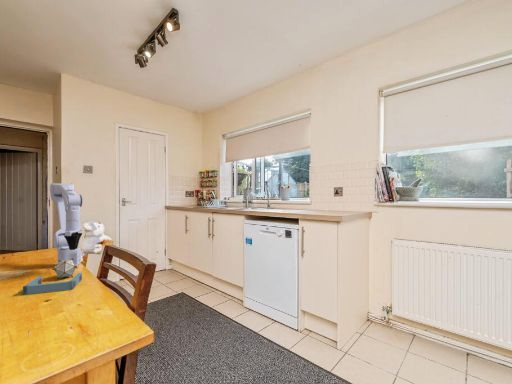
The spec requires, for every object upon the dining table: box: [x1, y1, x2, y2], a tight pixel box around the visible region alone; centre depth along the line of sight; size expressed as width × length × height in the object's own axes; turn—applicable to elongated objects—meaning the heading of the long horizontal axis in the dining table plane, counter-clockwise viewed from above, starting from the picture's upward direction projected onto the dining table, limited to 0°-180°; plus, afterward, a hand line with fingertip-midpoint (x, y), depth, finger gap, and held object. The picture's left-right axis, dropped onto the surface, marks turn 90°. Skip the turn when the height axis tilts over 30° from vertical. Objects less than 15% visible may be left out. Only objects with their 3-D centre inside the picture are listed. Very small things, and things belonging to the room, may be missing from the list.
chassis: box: [22, 272, 83, 296], centre depth 98 cm, size 15×12×3 cm
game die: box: [52, 258, 79, 280], centre depth 109 cm, size 9×8×10 cm
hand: (73, 249), depth 118 cm, fingers closed
